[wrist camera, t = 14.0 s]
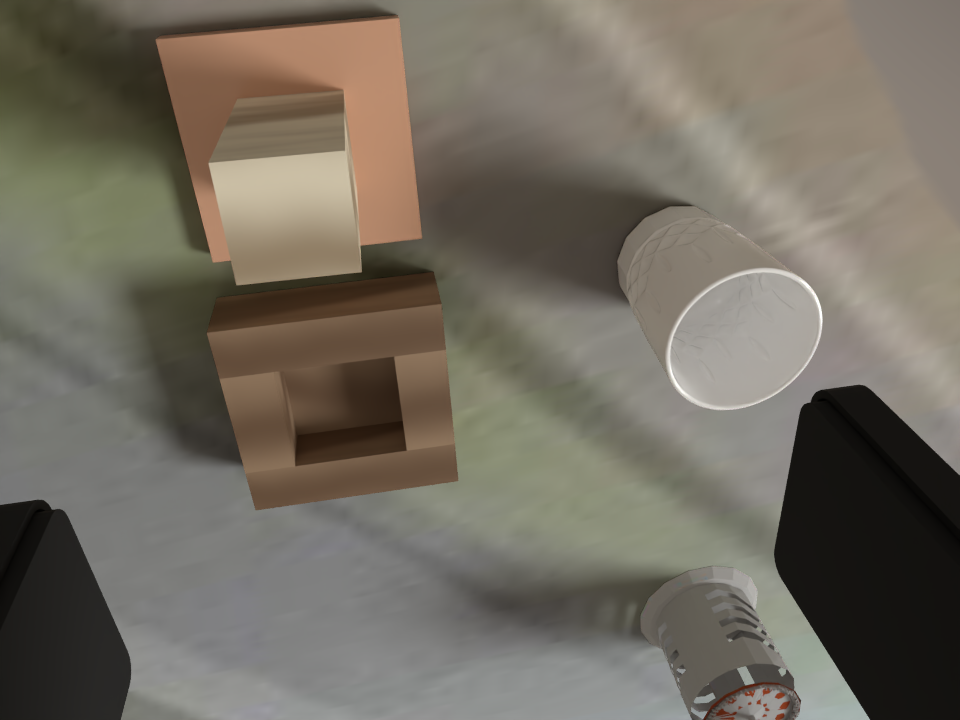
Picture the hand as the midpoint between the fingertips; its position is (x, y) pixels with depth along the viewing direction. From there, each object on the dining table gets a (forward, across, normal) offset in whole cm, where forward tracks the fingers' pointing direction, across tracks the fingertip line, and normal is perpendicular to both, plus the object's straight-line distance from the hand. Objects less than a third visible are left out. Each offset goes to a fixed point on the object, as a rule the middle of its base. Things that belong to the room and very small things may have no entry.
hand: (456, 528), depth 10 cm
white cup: (+34, -16, +13) cm, 39 cm away
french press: (+34, -21, +45) cm, 60 cm away
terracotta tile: (+33, +4, +4) cm, 34 cm away
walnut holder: (+33, +4, +18) cm, 38 cm away
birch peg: (+32, +4, +4) cm, 33 cm away
